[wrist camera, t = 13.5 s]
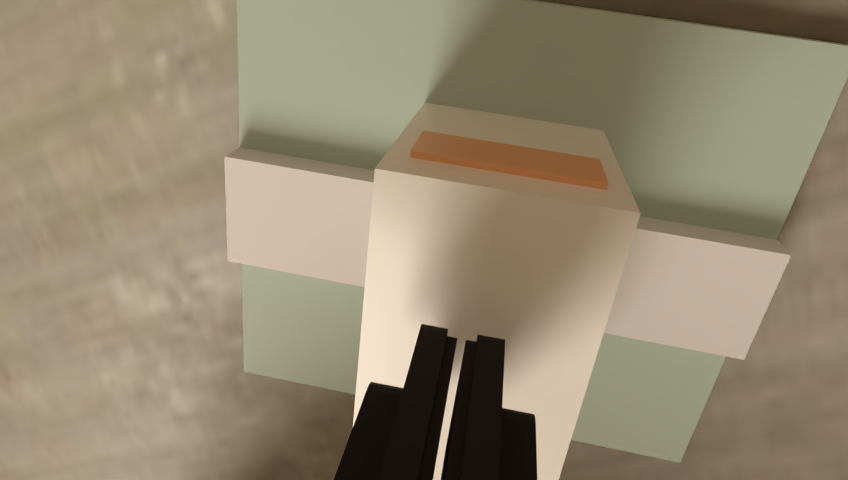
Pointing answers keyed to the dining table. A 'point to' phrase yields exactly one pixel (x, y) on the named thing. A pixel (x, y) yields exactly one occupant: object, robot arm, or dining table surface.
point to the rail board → (540, 100)
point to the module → (497, 258)
